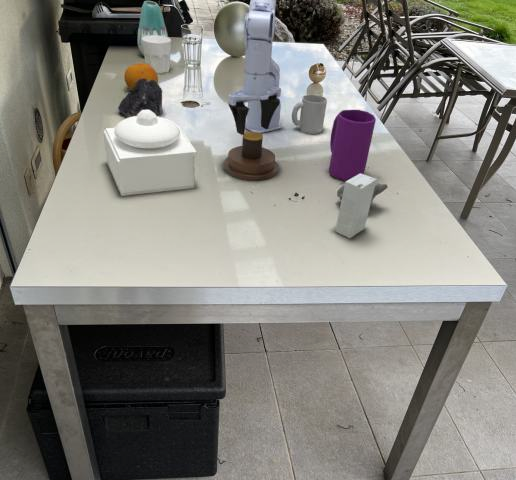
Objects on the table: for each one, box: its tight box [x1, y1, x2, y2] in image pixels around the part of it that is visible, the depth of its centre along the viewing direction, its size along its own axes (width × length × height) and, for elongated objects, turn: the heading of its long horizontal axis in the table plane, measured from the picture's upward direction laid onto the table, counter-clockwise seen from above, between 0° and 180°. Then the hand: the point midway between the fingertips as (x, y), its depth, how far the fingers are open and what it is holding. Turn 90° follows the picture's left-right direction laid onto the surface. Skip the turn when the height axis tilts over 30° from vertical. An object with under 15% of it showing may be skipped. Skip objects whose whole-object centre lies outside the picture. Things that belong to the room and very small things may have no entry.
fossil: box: [336, 182, 388, 204], centre depth 124 cm, size 11×9×8 cm
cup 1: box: [142, 35, 172, 74], centre depth 188 cm, size 10×10×10 cm
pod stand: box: [223, 145, 279, 182], centre depth 136 cm, size 14×14×4 cm
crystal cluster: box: [117, 78, 163, 118], centre depth 157 cm, size 13×14×10 cm
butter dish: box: [102, 110, 198, 197], centre depth 125 cm, size 18×18×16 cm
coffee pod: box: [241, 130, 264, 159], centre depth 133 cm, size 5×5×5 cm
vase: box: [136, 0, 169, 57], centre depth 197 cm, size 12×12×18 cm
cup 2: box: [291, 94, 328, 135], centre depth 157 cm, size 7×10×9 cm
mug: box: [328, 109, 377, 182], centre depth 136 cm, size 9×16×15 cm, turn 18°
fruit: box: [123, 62, 159, 90], centre depth 172 cm, size 10×10×8 cm
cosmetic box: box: [334, 173, 377, 239], centre depth 114 cm, size 6×4×12 cm
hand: (252, 130), depth 132 cm, fingers open, 7 cm apart
